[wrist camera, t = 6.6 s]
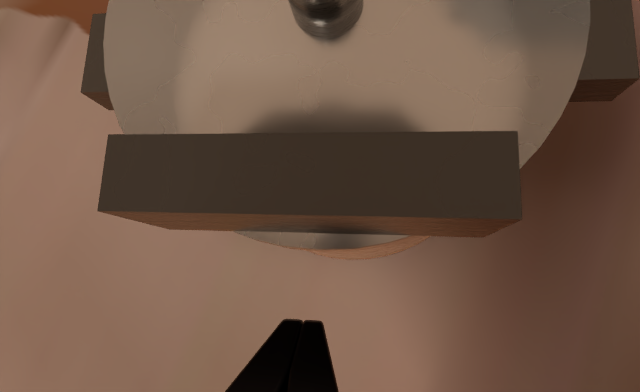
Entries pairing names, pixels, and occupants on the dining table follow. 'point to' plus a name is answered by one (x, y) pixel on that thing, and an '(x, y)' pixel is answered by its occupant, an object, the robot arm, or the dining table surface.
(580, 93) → the cooker pot
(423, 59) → the cooker lid
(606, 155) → the dining table surface
